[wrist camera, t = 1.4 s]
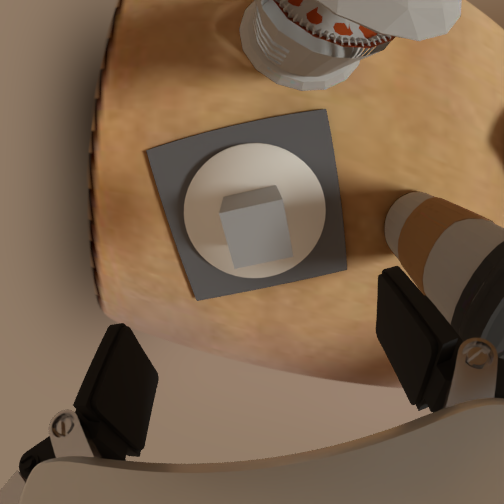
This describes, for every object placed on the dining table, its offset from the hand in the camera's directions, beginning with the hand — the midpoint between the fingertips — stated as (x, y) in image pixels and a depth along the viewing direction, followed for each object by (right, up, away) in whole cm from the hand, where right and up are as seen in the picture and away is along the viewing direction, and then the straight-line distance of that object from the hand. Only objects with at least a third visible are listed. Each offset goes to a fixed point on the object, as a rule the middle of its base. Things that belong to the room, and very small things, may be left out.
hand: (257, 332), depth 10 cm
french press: (+4, +20, +7) cm, 22 cm away
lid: (0, +6, +13) cm, 14 cm away
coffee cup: (+15, +6, +14) cm, 21 cm away
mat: (0, +6, +13) cm, 15 cm away
